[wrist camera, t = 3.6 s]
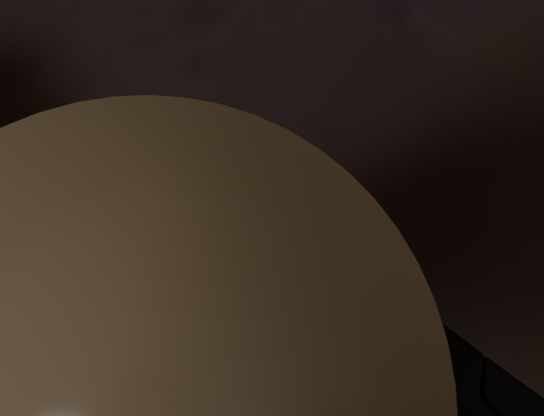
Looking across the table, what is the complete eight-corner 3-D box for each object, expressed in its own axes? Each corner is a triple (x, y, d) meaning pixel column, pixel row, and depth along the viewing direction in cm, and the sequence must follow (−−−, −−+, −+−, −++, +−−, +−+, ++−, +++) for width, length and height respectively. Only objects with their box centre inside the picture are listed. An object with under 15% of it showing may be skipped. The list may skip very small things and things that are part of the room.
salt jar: (329, 355, 15) (627, 450, 3) (204, 463, 14) (-26, 1209, 2) (236, 237, 16) (209, -21, 4) (113, 330, 15) (-397, 332, 3)
